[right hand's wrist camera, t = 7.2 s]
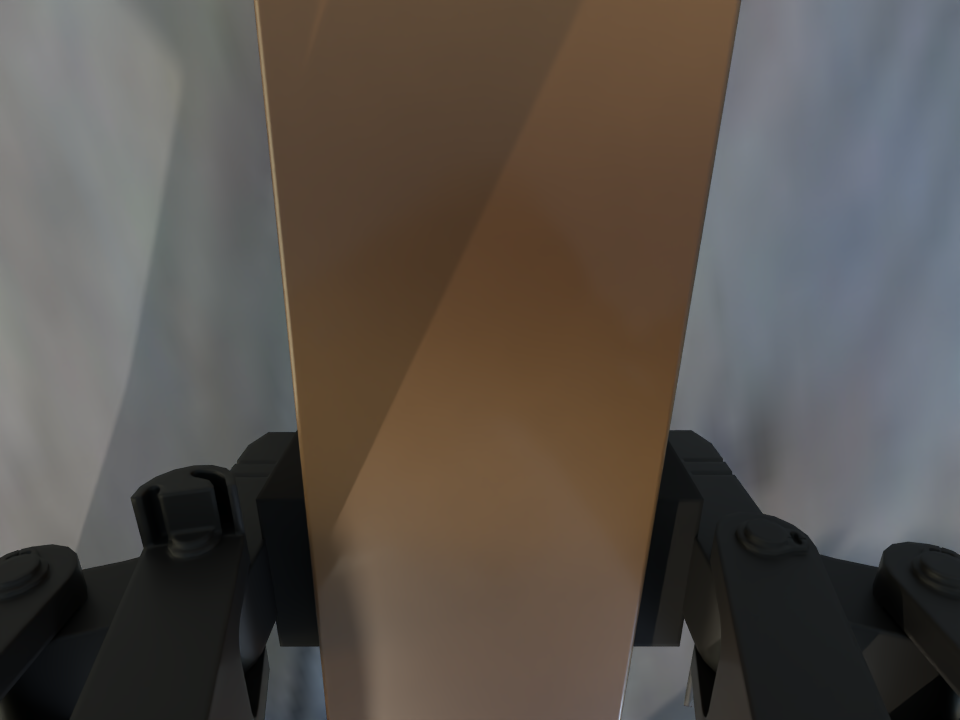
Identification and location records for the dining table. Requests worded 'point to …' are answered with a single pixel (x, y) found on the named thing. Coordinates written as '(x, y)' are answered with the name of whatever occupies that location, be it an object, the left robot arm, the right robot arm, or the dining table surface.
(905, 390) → the dining table surface
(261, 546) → the right robot arm
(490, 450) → the bar
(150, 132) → the dining table surface
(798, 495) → the dining table surface
